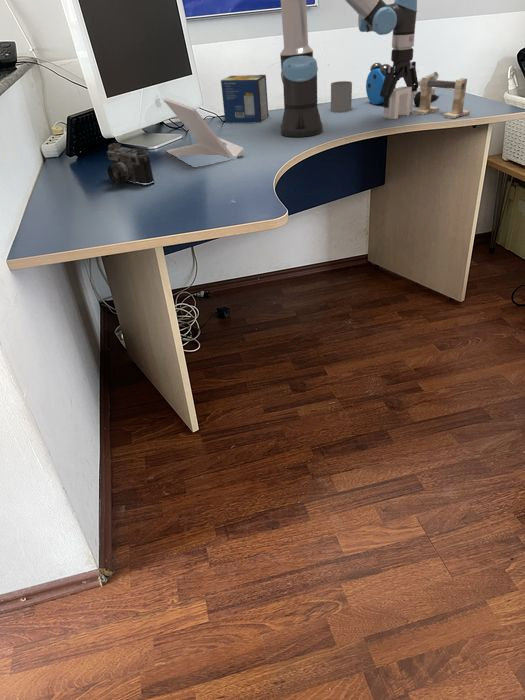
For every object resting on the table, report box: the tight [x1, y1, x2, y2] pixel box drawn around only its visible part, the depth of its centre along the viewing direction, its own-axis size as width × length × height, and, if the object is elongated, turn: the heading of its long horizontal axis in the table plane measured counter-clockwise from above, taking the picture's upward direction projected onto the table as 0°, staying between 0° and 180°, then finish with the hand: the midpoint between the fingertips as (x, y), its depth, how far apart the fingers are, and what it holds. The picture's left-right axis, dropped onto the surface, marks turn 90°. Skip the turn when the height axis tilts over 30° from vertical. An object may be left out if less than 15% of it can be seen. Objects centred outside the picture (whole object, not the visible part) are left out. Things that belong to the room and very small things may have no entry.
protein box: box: [220, 74, 269, 123], centre depth 209 cm, size 10×15×16 cm
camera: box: [106, 142, 155, 185], centre depth 151 cm, size 18×9×10 cm, turn 50°
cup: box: [330, 80, 353, 113], centre depth 212 cm, size 8×8×10 cm
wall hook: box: [414, 71, 440, 96], centre depth 223 cm, size 9×10×10 cm
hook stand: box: [411, 75, 471, 119], centre depth 193 cm, size 10×18×12 cm, turn 41°
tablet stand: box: [163, 97, 245, 158], centre depth 169 cm, size 18×25×17 cm
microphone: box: [413, 92, 439, 107], centre depth 214 cm, size 6×6×20 cm
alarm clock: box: [365, 62, 397, 105], centre depth 215 cm, size 13×6×15 cm, turn 24°
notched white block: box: [385, 85, 412, 120], centre depth 196 cm, size 9×4×10 cm, turn 131°
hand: (398, 113), depth 198 cm, fingers open, 12 cm apart
